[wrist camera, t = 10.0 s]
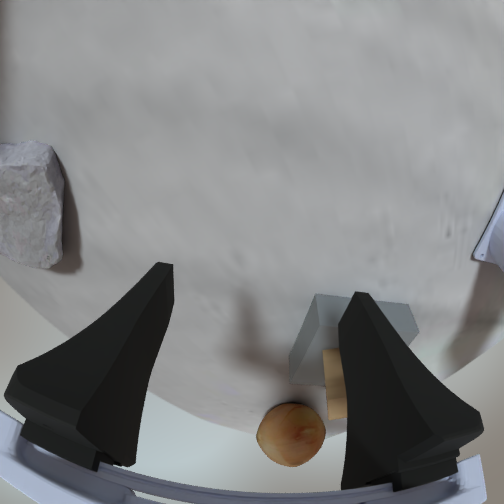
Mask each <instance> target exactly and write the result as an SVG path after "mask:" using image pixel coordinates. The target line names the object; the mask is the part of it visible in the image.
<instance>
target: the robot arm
mask: <svg viewBox="0 0 504 504" xmlns="http://www.w3.org/2000/svg"><path fill="white" fill-rule="evenodd" d="M473 256H474V258H475V259H478V260H482V261H486V262H490V263H494V264H498V266H499V267H500V268H501V270H502V271H503V273H504V193H503V195H502V197H501V199H500V202H499V204H498V206H497V208H496V210H495V212H494V215H493V217H492V219H491V221H490V223H489V225H488V227H487V229H486V231H485V233H484V235H483V236H482V238H481V240H480V242H479V244H478V246H477V247H476V249H475V251H474V253H473ZM173 305H174V278H173V264H168V263H162V262H157V263H156V264H155V265H154V266H153V267H152V268H151V269H150V270H149V271H148V272H147V273H146V274H145V275H144V276H143V277H142V278H141V280H140V281H139V282H138V283H137V284H136V285H135V286H134V287H133V288H132V289H131V290H129V291H128V292H127V293H126V294H125V295H124V296H123V297H122V298H121V299H120V300H119V301H118V302H117V303H116V304H115V305H113V306H112V307H111V308H110V309H109V310H108V311H107V312H106V313H104V314H103V315H102V316H101V317H100V318H98V319H97V320H96V321H94V322H93V323H92V324H91V325H89V326H88V327H87V328H85V329H84V330H82V331H81V332H79V333H78V334H77V335H75V336H74V337H72V338H71V339H69V340H67V341H66V342H64V343H63V344H61V345H59V346H57V347H55V348H54V349H52V350H50V351H48V352H46V353H45V354H43V355H41V356H39V357H36V358H34V359H32V360H30V361H27V362H25V363H23V364H20V365H18V366H17V368H16V370H15V372H14V374H13V375H12V378H11V380H10V382H9V384H8V386H7V389H6V391H5V393H4V397H5V399H6V401H7V402H8V403H9V404H10V405H11V406H12V407H13V408H14V409H15V410H17V411H18V412H19V413H20V414H21V415H22V416H23V417H25V418H26V420H25V423H24V424H22V423H21V422H19V421H18V420H16V419H14V418H13V417H11V416H9V415H8V414H6V413H4V412H3V411H1V410H0V477H1V478H2V479H4V480H5V481H6V482H8V483H9V484H11V485H12V486H13V487H15V488H16V489H18V490H19V491H21V492H22V493H24V494H25V495H27V496H28V497H29V498H31V499H32V500H34V501H36V502H37V503H39V504H164V503H160V502H156V501H152V500H148V499H144V498H141V497H137V496H136V495H135V493H134V491H133V490H135V491H139V492H143V493H146V494H150V495H154V496H159V497H163V498H167V499H172V500H177V501H182V502H188V503H194V504H481V503H483V502H484V501H486V500H487V496H486V489H485V481H484V475H483V469H482V464H481V459H480V455H479V454H477V455H475V456H472V457H470V458H467V459H464V460H462V461H460V462H457V461H456V457H458V456H459V455H460V452H459V448H460V447H462V446H464V445H466V444H467V443H469V442H470V441H472V440H474V439H475V438H477V437H478V436H479V435H481V434H482V433H483V431H484V427H483V423H482V419H481V415H480V412H479V411H477V410H476V409H474V408H473V407H471V406H470V405H468V404H467V403H465V402H464V401H463V400H461V399H460V398H459V397H458V396H456V395H455V394H454V393H452V392H451V391H450V390H449V389H448V388H446V386H444V385H443V384H442V383H441V382H440V381H439V380H438V379H437V378H436V377H435V376H434V375H433V374H432V373H431V372H430V371H429V370H428V369H427V368H426V367H425V366H424V365H423V364H422V362H421V361H420V360H419V359H418V358H417V357H416V356H415V354H414V353H413V352H412V351H411V350H410V348H409V347H408V346H407V345H406V343H405V342H404V341H403V339H402V338H401V337H400V335H399V334H398V333H397V331H396V330H395V329H394V327H393V326H392V325H391V323H390V322H389V320H388V319H387V318H386V316H385V315H384V313H383V312H382V311H381V309H380V308H379V306H378V305H377V304H376V302H375V301H374V300H373V298H372V297H371V296H370V295H369V293H364V292H356V291H355V293H354V295H353V297H352V299H351V301H350V303H349V304H348V306H347V308H346V310H345V312H344V314H343V316H342V318H341V319H340V321H339V323H338V340H339V351H340V357H341V363H342V369H343V375H344V382H345V388H346V397H347V441H346V454H345V462H344V469H343V475H342V481H341V490H339V491H328V492H313V493H256V492H240V491H229V490H219V489H212V488H205V487H198V486H192V485H186V484H181V483H176V482H171V481H166V480H162V479H158V478H153V477H149V476H146V475H142V474H138V473H135V472H131V471H128V470H124V469H121V468H118V467H115V466H113V465H117V466H125V467H130V466H132V465H134V464H135V463H136V452H137V444H138V437H139V430H140V423H141V417H142V411H143V407H144V401H145V396H146V392H147V387H148V383H149V379H150V375H151V372H152V369H153V366H154V363H155V360H156V357H157V355H158V352H159V349H160V346H161V344H162V341H163V338H164V336H165V333H166V330H167V327H168V325H169V321H170V317H171V313H172V309H173ZM131 489H132V490H131Z"/></svg>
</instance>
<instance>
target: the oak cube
mask: <svg viewBox="0 0 504 504" xmlns="http://www.w3.org/2000/svg"><path fill="white" fill-rule="evenodd" d="M322 352H323V363H324V375H325V385H326V396H327V407H328V419H329V420H333V419H340V418H346V417H347V397H346V388H345V382H344V375H343V369H342V363H341V357H340V351H339V348H334V349H328V350H322Z"/></svg>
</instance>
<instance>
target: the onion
mask: <svg viewBox="0 0 504 504" xmlns="http://www.w3.org/2000/svg"><path fill="white" fill-rule="evenodd" d="M325 434H326V429H325V426H324V423H323V421H322V420H321V418H320V416H319V415H318V414H317V413H316V412H315V411H314V410H313V409H311V408H310V407H308V406H305V405H302V404H293V403H288V404H282V405H279V406H277V407H275V408H274V409H272V410H271V411H270V412H269V413H268V414H267V415H266V416H265V417H264V418H263V420H262V422H261V423H260V425H259V428H258V431H257V435H256V438H257V442H258V444H259V446H260V448H261V449H262V450H263V452H264V453H265V454H266V455H267V456H268V457H269V458H270V459H271V460H273V461H274V462H276V463H278V464H280V465H284V466H289V467H297V466H300V465H302V464H304V463H305V462H307V461H309V460H310V459H311V458H312V457H313V456H314V455H315V454H316V453H317V452H318V451H319V449H320V448H321V446H322V444H323V442H324V439H325Z"/></svg>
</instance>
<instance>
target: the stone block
mask: <svg viewBox="0 0 504 504" xmlns="http://www.w3.org/2000/svg"><path fill="white" fill-rule="evenodd" d="M64 186H65V180H64V178H63V176H62V173H61V169H60V166H59V163H58V161H57V157H56V155H55V152H54V150H53V148H52V147H51V146H50V145H48V144H43V143H40V142H38V141H34V140H30V141H27V142H21V143H20V144H12V143H7V144H0V254H2V255H4V256H6V257H8V258H9V259H11V260H13V261H16V262H17V263H19V264H23V265H25V266H29V267H32V268H47V269H48V268H51V267H52V265H53V264H54V265H55V264H57V263H58V262H59V261H61V260H62V256H63V251H62V241H61V237H62V216H63V201H64V195H63V193H64Z"/></svg>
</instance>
